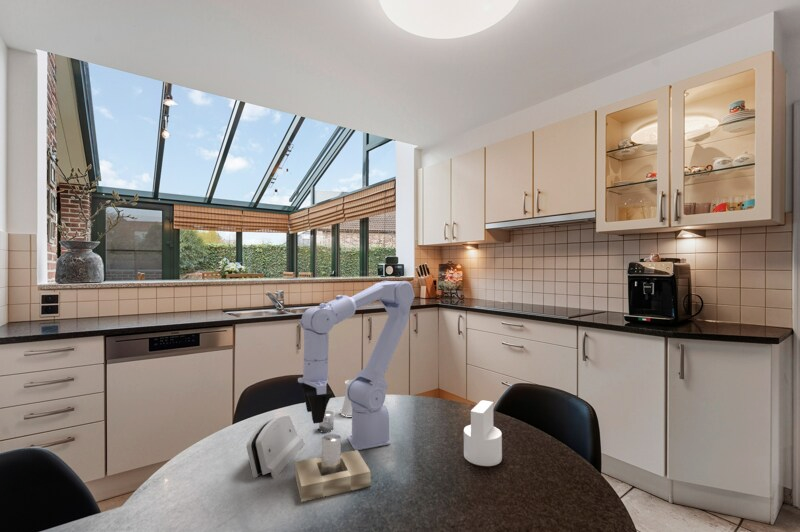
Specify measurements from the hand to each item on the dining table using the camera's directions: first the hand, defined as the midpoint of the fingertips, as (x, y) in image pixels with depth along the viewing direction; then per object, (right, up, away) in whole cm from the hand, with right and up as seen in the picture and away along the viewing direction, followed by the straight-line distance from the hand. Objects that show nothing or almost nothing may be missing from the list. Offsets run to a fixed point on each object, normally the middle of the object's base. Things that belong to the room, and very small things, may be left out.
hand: (314, 416), depth 86 cm
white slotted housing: (-9, -11, +1) cm, 14 cm away
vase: (+5, -12, +30) cm, 32 cm away
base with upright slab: (+40, -11, +2) cm, 42 cm away
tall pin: (+6, -10, -9) cm, 14 cm away
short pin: (-1, -11, +17) cm, 21 cm away
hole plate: (+6, -10, -9) cm, 14 cm away
